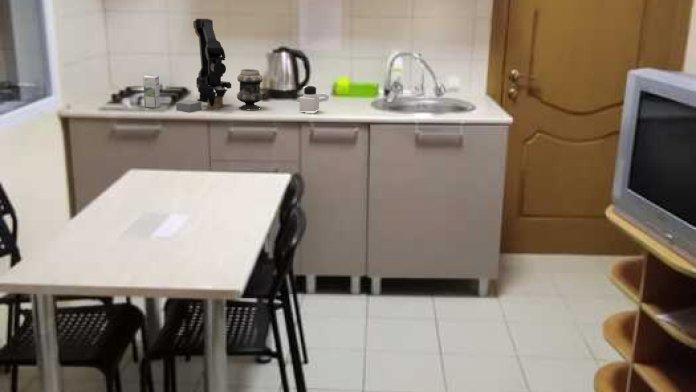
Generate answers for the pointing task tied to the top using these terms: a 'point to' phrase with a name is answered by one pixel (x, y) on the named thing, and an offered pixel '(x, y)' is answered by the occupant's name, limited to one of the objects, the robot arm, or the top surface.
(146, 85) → the syrup box
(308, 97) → the medicine bottle
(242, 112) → the top surface
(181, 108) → the stoneware block
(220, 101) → the walnut cube
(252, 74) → the apothecary jar
